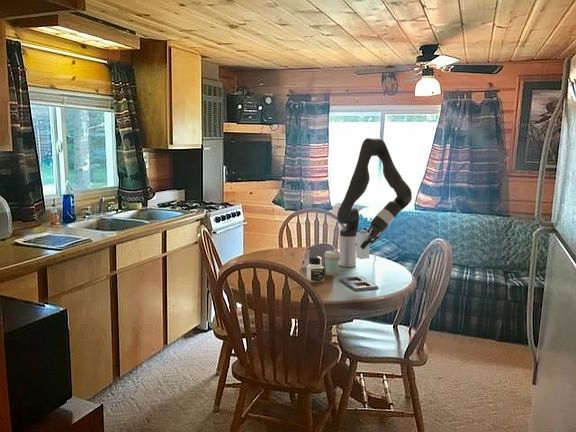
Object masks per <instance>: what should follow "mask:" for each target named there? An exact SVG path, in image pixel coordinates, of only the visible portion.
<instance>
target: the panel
mask: <svg viewBox="0 0 576 432" xmlns="http://www.w3.org/2000/svg"><path fill="white" fill-rule="evenodd" d="M339 282H341V283H342V284H344V285H345V286H347V287H349V288H350V289H351V290H352V291H355V292H360V291H369V290H370V291H371V290H379V285H377V284H376V283H374V282H372V281H371V280H369V279H367V278H365V277H363V276H362V275H359V276H358V275H355V276H347V277H339Z"/></svg>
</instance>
